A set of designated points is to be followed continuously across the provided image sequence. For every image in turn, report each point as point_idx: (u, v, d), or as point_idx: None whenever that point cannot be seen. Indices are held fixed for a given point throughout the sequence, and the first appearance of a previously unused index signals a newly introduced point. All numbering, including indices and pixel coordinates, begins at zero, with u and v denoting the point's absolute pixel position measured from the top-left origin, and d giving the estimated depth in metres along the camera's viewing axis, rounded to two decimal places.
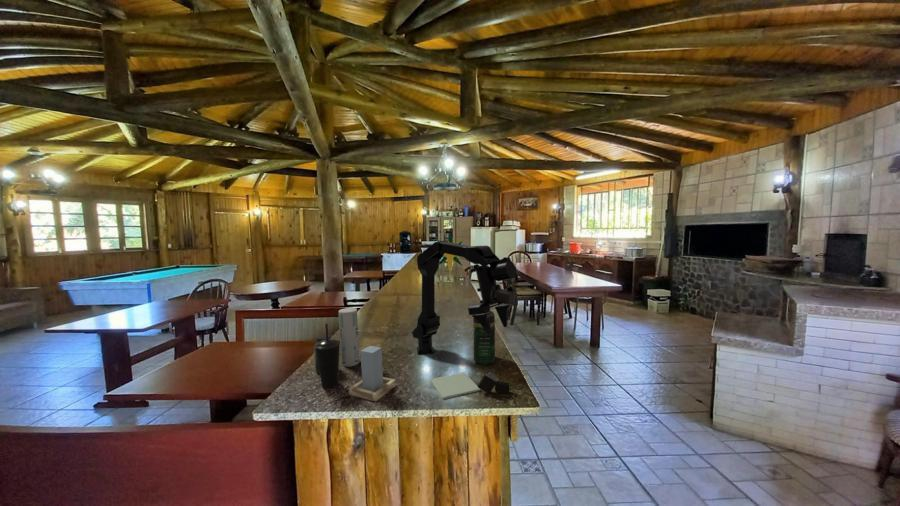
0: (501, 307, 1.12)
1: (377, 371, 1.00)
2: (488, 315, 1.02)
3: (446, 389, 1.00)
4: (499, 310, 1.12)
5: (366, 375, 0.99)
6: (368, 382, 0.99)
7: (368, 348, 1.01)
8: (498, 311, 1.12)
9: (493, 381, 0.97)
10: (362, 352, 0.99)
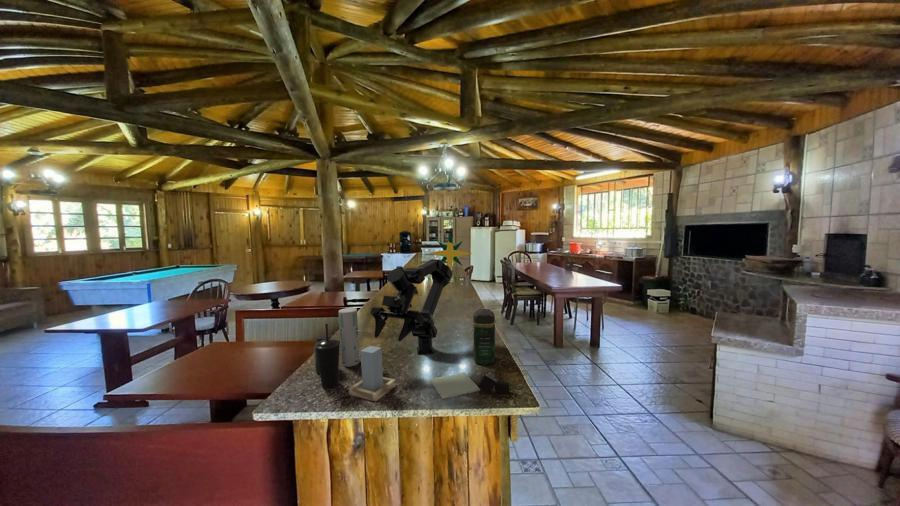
0: None
1: (377, 371, 1.00)
2: (375, 316, 1.12)
3: (446, 389, 1.00)
4: None
5: (366, 375, 0.99)
6: (368, 382, 0.99)
7: (368, 348, 1.01)
8: None
9: (493, 381, 0.97)
10: (362, 352, 0.99)
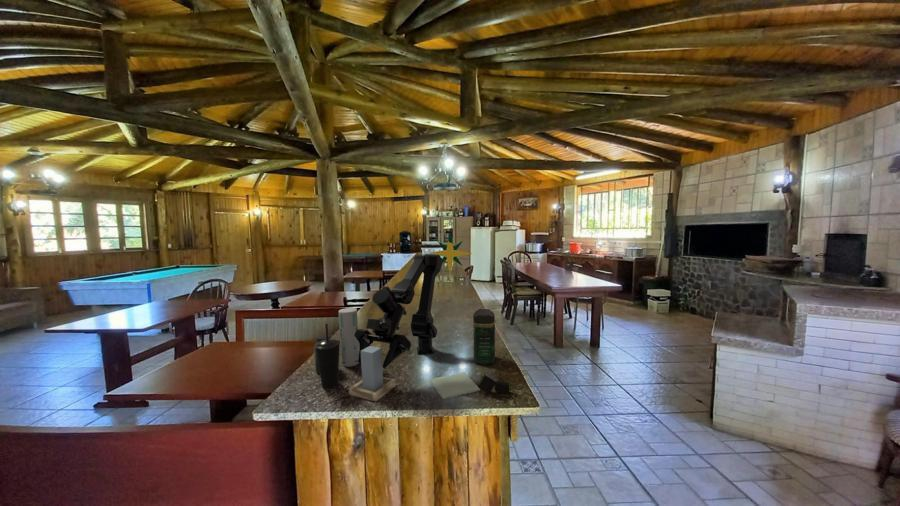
0: None
1: (377, 371, 1.00)
2: (360, 340, 1.05)
3: (446, 389, 1.00)
4: None
5: (366, 375, 0.99)
6: (368, 382, 0.99)
7: (368, 348, 1.01)
8: None
9: (493, 381, 0.97)
10: (362, 352, 0.99)
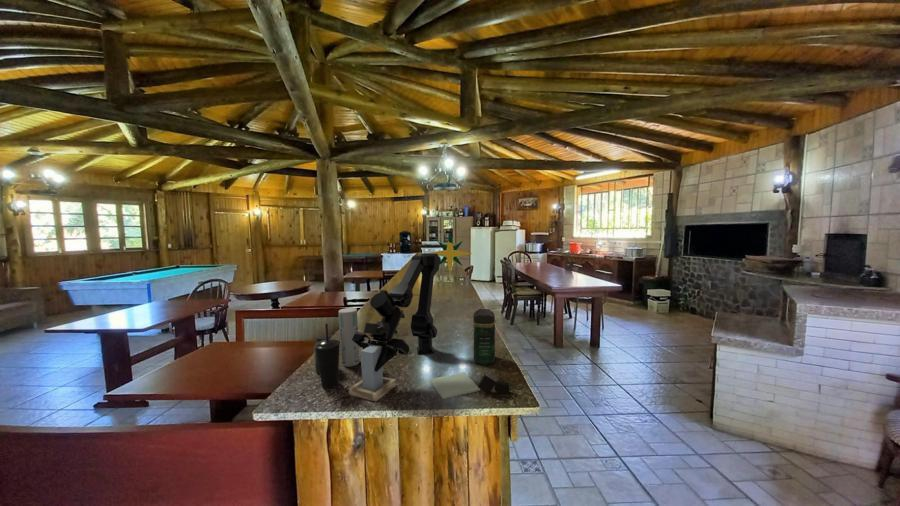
0: None
1: (377, 371, 1.00)
2: (363, 345, 1.03)
3: (446, 389, 1.00)
4: None
5: (366, 375, 0.99)
6: (368, 382, 0.99)
7: (368, 348, 1.01)
8: None
9: (493, 381, 0.97)
10: (362, 352, 0.99)
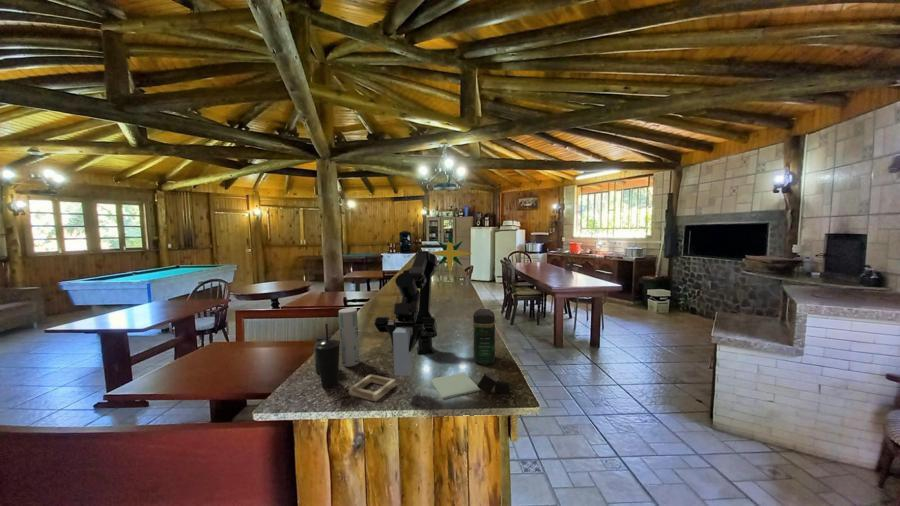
0: None
1: None
2: (390, 328, 1.00)
3: (446, 389, 1.00)
4: None
5: (400, 357, 0.97)
6: (402, 363, 0.97)
7: (398, 329, 0.98)
8: None
9: (493, 381, 0.97)
10: (395, 333, 0.96)
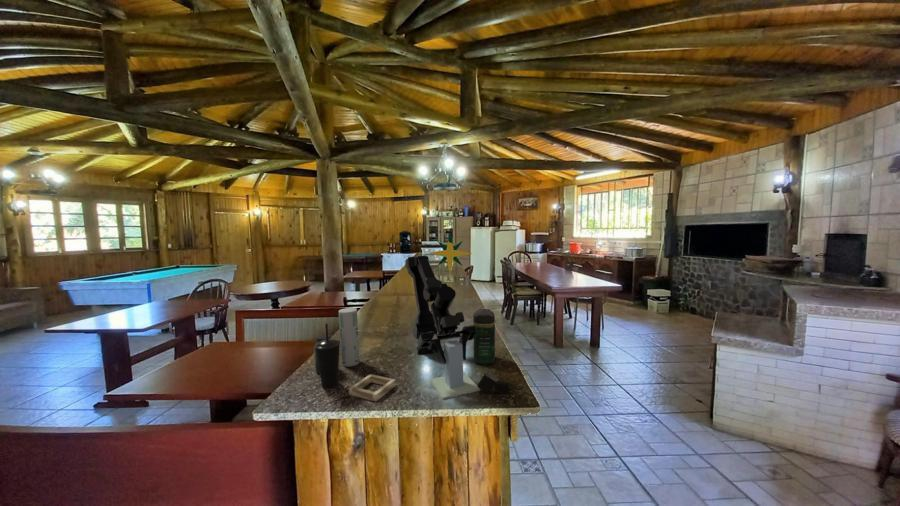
0: (460, 340, 1.06)
1: None
2: (437, 342, 1.01)
3: (446, 389, 1.00)
4: None
5: (455, 369, 1.00)
6: (457, 375, 1.01)
7: (449, 343, 1.02)
8: None
9: (493, 381, 0.97)
10: (451, 348, 0.99)
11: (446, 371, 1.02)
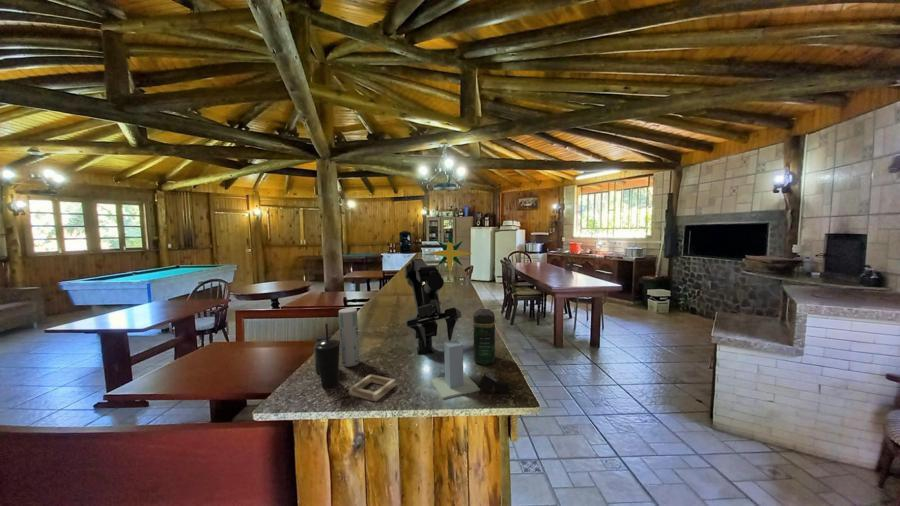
0: None
1: None
2: (415, 328, 1.14)
3: (446, 389, 1.00)
4: None
5: (455, 369, 1.00)
6: (457, 375, 1.01)
7: (449, 343, 1.02)
8: None
9: (493, 381, 0.97)
10: (451, 348, 0.99)
11: (446, 371, 1.02)
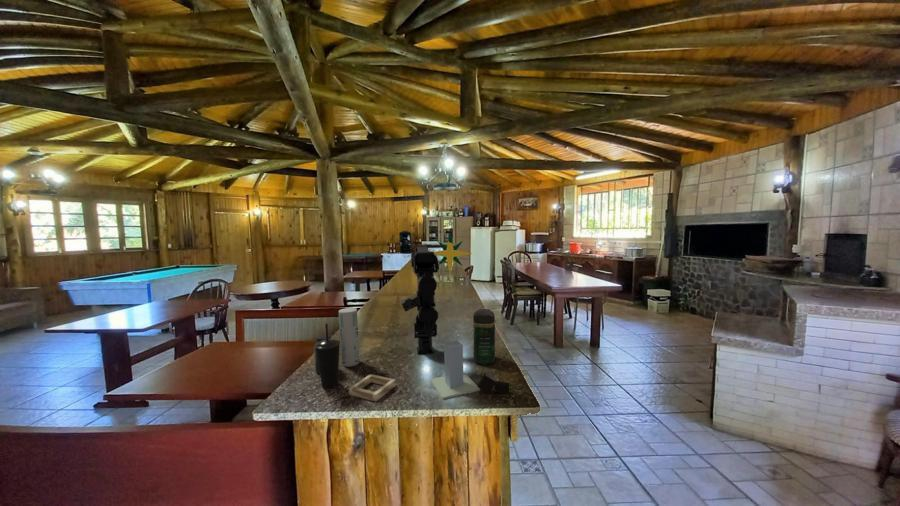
0: None
1: None
2: (419, 310, 1.20)
3: (446, 389, 1.00)
4: None
5: (455, 369, 1.00)
6: (457, 375, 1.01)
7: (449, 343, 1.02)
8: None
9: (493, 381, 0.97)
10: (451, 348, 0.99)
11: (446, 371, 1.02)
